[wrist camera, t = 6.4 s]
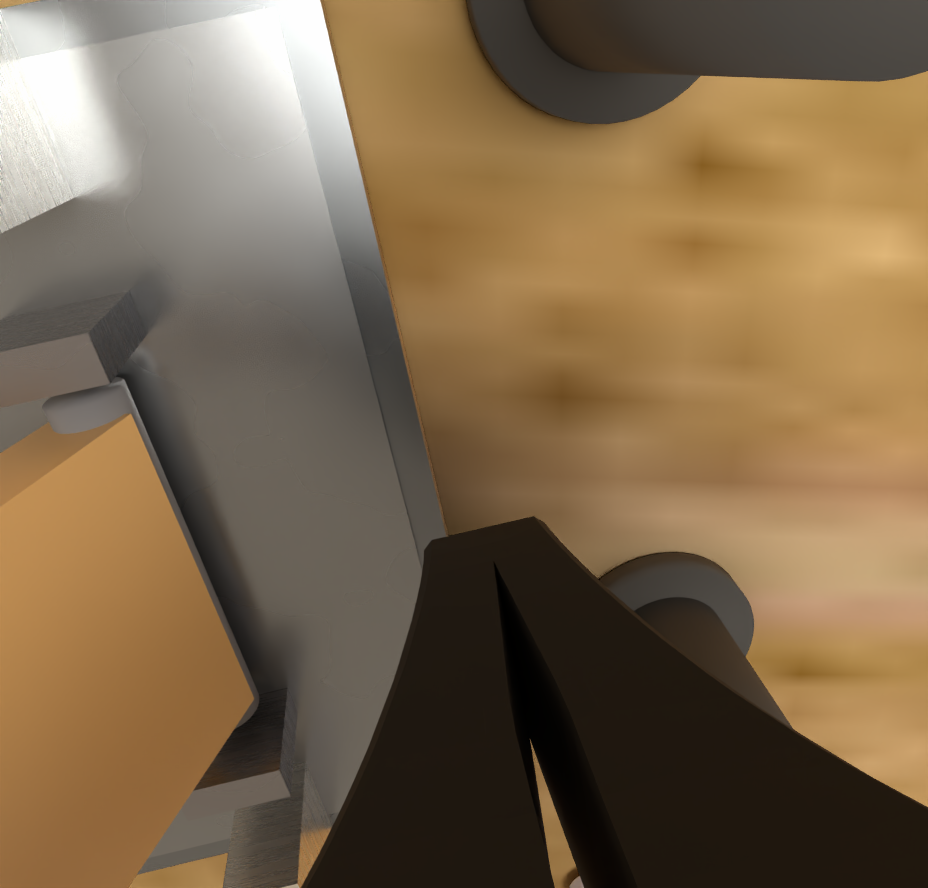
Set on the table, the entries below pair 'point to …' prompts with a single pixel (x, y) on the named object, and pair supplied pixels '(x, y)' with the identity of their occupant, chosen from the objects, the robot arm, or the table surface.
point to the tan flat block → (102, 650)
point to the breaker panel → (228, 363)
